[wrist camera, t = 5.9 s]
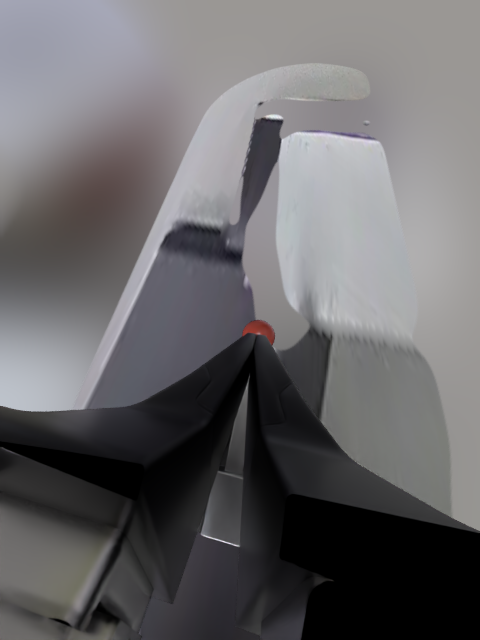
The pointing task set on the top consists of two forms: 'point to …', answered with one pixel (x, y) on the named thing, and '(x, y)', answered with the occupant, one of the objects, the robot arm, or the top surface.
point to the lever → (232, 470)
